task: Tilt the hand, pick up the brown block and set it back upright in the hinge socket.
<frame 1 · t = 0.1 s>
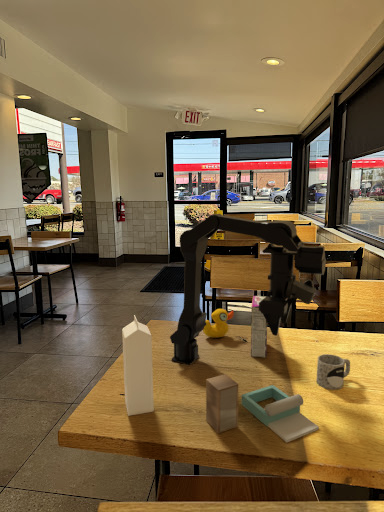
hand: (279, 328, 97), 15 cm above the table, tool pointing down, fingers open, 9 cm apart
hinge socket: (269, 409, 86), on the table
mug: (334, 382, 98), on the table
milk: (139, 407, 88), on the table
candy bar box: (258, 350, 118), on the table
brown block: (221, 423, 81), on the table
duckling: (217, 337, 129), on the table
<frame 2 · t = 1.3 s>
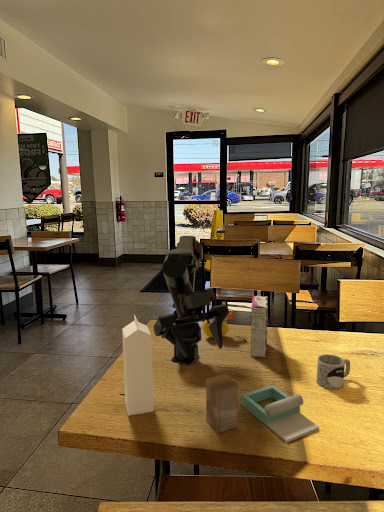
hand: (204, 352, 86), 13 cm above the table, tool tilted 45°, fingers open, 9 cm apart
nothing on the table moved.
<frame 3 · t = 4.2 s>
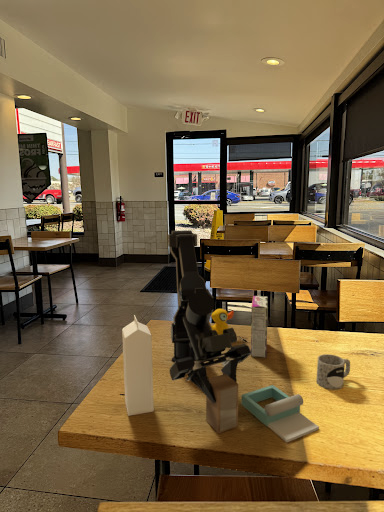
hand: (225, 399, 79), 7 cm above the table, tool tilted 45°, fingers closed on brown block, 5 cm apart
brown block: (221, 423, 81), on the table, touching gripper
everything else where it was.
when the fingers open (8 cm above the table, at t = 8.6 s): brown block drops 1 cm, resting in hinge socket.
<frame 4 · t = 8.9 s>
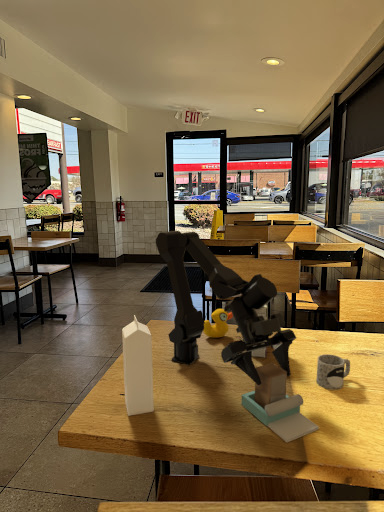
hand: (274, 380, 84), 8 cm above the table, tool tilted 45°, fingers open, 8 cm apart
brown block: (269, 409, 86), resting in hinge socket
everything else where it was.
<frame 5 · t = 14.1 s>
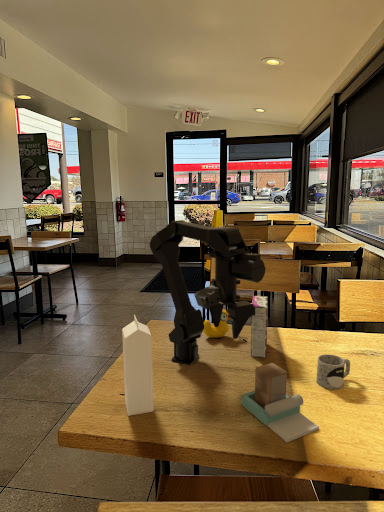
hand: (225, 332, 99), 13 cm above the table, tool pointing down, fingers open, 9 cm apart
nothing on the table moved.
at the end: brown block 0.0 cm off-centre on the hinge socket, point 0.0 cm above the hinge socket's base; brown block tilted 0°; the gripper is holding nothing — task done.
